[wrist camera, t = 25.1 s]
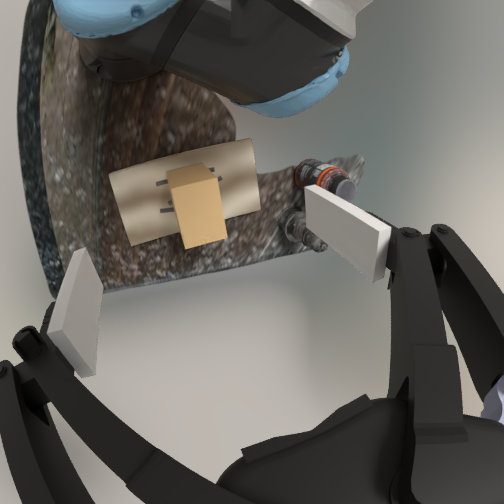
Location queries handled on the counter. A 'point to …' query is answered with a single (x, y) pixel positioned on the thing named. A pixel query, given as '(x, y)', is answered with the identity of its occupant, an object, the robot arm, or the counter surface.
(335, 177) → the supplement bottle
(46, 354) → the robot arm
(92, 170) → the counter surface
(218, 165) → the birch board
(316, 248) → the grey chess piece
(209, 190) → the block
